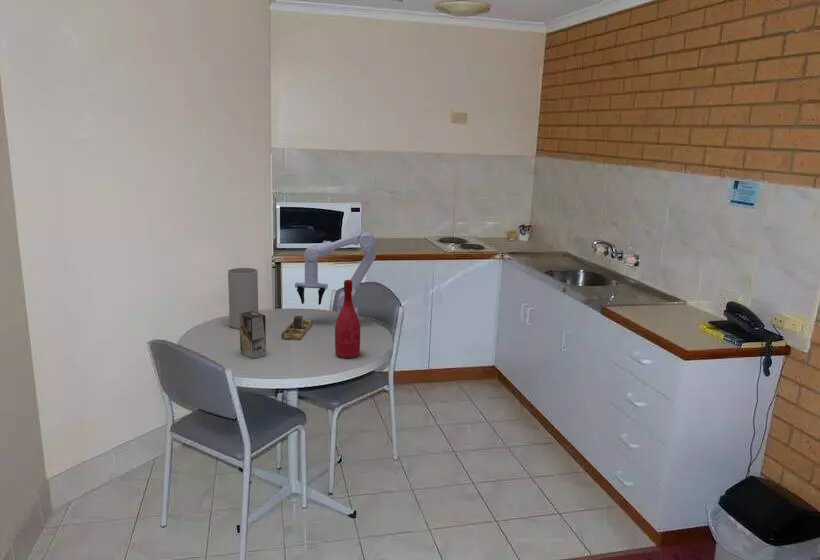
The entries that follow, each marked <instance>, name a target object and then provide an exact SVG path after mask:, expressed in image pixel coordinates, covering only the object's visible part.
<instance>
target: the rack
mask: <svg viewBox="0 0 820 560" xmlns="http://www.w3.org/2000/svg"><path fill="white" fill-rule="evenodd" d="M312 326H313V324H312V320H308V319H307V320H306V319H303V329H294V320H293V321H292V322H291V323H290V324H289V325H288V326H287V328H285V330H283V332H282V333H281V338H280V339H281V340H283V339H284V340H286V341H287V340H289V341H301V340H302V339H303V337H304V336H305V335H306V334H307V333H308V331H309V330H310V329H311V328H312ZM284 340H283V341H284Z"/></svg>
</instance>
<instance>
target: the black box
mask: <svg viewBox="0 0 820 560" xmlns="http://www.w3.org/2000/svg"><path fill="white" fill-rule="evenodd" d="M303 320H304V317H303V315H294V317H293V321H294V329H303Z"/></svg>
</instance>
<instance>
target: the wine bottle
mask: <svg viewBox="0 0 820 560" xmlns="http://www.w3.org/2000/svg"><path fill="white" fill-rule="evenodd" d="M343 290H344V292H345V294H344V303H343V307H342V309H341V311H340V313H339V316H338V318H337V317H336V322H335V325H334V346H335V347H334V351H335V355H336V356H337V357H339V358H342V359H353V358H356V357H358V356H359V355H360V352H361V324H360V320H359V315H358V316H357V314H356V312H355V309H354V307H355V306H354V303H353V298H352V295H351V292H352V281H351V279H346V280H344V281H343ZM353 306H354V307H353Z"/></svg>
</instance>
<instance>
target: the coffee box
mask: <svg viewBox="0 0 820 560" xmlns="http://www.w3.org/2000/svg"><path fill="white" fill-rule="evenodd" d="M239 323H240V329H239V341H240V342H239V343H240V346H239V347H240V355H241V354H242V355H244V356H246V357H249V358H251V359H256V358H257V359H258V358H261V357H265V356H267V332H266V331H267V330H266V329H267V328H266V315H265V314H263V313H259V312H258V313H257V312H254V311H250V312H245V313H241V314H239Z"/></svg>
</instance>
